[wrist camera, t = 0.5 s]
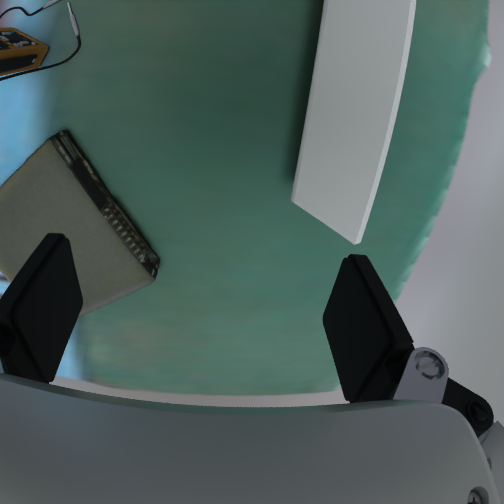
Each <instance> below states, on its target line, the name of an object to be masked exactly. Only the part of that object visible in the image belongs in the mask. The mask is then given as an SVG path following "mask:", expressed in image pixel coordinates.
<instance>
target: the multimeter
mask: <svg viewBox="0 0 504 504" xmlns="http://www.w3.org/2000/svg"><path fill="white" fill-rule="evenodd" d="M57 1H59V0H52V1H50V2H49V3H47V4H45V5H44V6H43V7H42V8H40V9H39V10H37V11H35V12H34V13H32V14H28V13H27V12H26V11H25V10H24V9H23V8H22V7H13V8H10V9H8V10H6V11H5V12H4V13H2V15H1V16H0V18H1V17H2V16H3V15H4V14H5V13H6V12H7V11H9V10H12V9H21V10H22V11H23V12H24V13H25V14H26V15H27V16H31V15H34V14H35V13H37V12H39V11H40V10H42V9H43V8H46V7H48V6H50V5H52V4H54V3H56V2H57ZM68 8H69V11H70V15H71V16H69V18H70V20H71V23H72V26H73V30H74V33H75V35H76V36H77V39H78V48H77V50H76V51H75V52H74V53H73V54H72V55H71V56H70V57H69V58H67V59H66V60H64V61H62V62H60V63H57V64H53V65H50V66H45V67H41V68H38V67H39V66H40V64H41V62H42V60H43V58H44V56H45V54H46V52H47V50H48V46H47V45H46V44H43V43H41V42H39V41H38V40H36V39H34V38H32V37H30V36H28V35H26V34H24V33H22V32H20V31H19V30H17V29H15V28H0V76H3V75H7V74H11V73H15V72H20V71H24V72H20V73H16V74H12V75H9V76H5V77H2V78H0V81H2V80H5V79H8V78H12V77H15V76H19V75H23V74H27V73H31V72H35V71H39V70H43V69H47V68H51V67H54V66H58V65H60V64H63V63H65V62H67V61H68V60H69V59H71V58H72V57H73V56H74V55H75V54H76V53H77V52H78V50H79V48H80V44H81V43H80V38H79V31H78V27H77V24H76V21H75V17H74V14H73V15H72V12H71V8H70V5H69V3H68ZM34 68H37V69H34ZM29 69H32V70H29ZM25 70H28V71H25Z"/></svg>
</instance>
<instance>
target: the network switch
mask: <svg viewBox="0 0 504 504" xmlns="http://www.w3.org/2000/svg"><path fill="white" fill-rule="evenodd" d="M48 233H63V234H64V235H65V237H66V238H68V239H69V240H70V244H71V249H72V254H73V259H74V263H75V268H76V272H77V276H78V280H79V284H80V288H81V292H82V296H83V306H82V309H81V311H80V314H79V316H78V318H79V317H81V316H83V315H85V314H87V313H90V312H92V311H94V310H96V309H99V308H101V307H102V306H105V305H107V304H110V303H112V302H114V301H116V300H118V299H120V298H122V297H124V296H127V295H129V294H131V293H133V292H135V291H137V290H139V289H141V288H143V287H146V286H148V285H150V284H152V283H153V282H154V281H155V279H156V276H157V272H158V268H159V263H160V260H159V259H158V258H157V257H156V256H155V254H154V253H153V252H152V250H151V249H150V248H149V246H148V245H147V243H146V242H145V241H144V239H142V238H141V236H140V235H139V234H138V233H137V231H136V230H135V228H134V227H133V225H132V224H131V222H130V221H129V220H128V218H127V217H126V216H125V215H124V213H123V211H122V210H121V209H120V208H119V207H118V206H117V204H116V203H115V202H114V201H113V200H112V198H111V197H110V196H109V194H108V191H107V190H106V189H105V188H104V186H103V185H102V184H101V182H100V180H99V178H98V177H97V175H96V174H95V173H94V171H93V170H92V169H91V167H90V166H89V164H88V162H87V161H86V160H85V159H84V157H82V155H81V153H80V152H79V151H78V149H77V148H76V147H75V145H74V143H73V142H72V141H71V139H70V138H69V137H68V131H66V130H63V131H60V132H58V133H57V134H55V135H53V136H52V137H50V138H48V139H47V140H46V141H45V143H44V144H43V145H41V146H40V147H39V148H38V149H37V150H36V151H35V152H34V153H33V154H31V155H30V156H29V157H28V158H27V159H26V161H25V162H24V164H23V165H22V166H21V167H19V168H18V169H17V170H16V171H15V172H14V173H13V174H12V175H11V176H10V177H9V178H8V179H7V180H6V181H5V182H4V183H3V185H2V186H1V187H0V271H1V272H2V273H3V275H4V276H5V277H6V278H7V279H8V280H9V282H10V283H11V282H12V281H13V279H14V278H15V276H16V275H17V273H18V272H19V271H20V269H21V268H22V266H23V265H24V264H25V262H26V261H27V259H28V258H29V257H30V255H31V254H32V253H33V251H34V250H35V249H36V247H37V246H38V245H39V244H40V242H41V241H42V240H43V238H44V237H45V236H46V235H47V234H48ZM147 249H148V250H147ZM148 259H149V260H150V261H149V260H148Z"/></svg>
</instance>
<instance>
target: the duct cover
mask: <svg viewBox="0 0 504 504" xmlns="http://www.w3.org/2000/svg"><path fill="white" fill-rule="evenodd" d="M415 8H416V0H324V4H323V11H322V18H321V25H320V31H319V38H318V44H317V51H316V57H315V63H314V70H313V76H312V82H311V88H310V94H309V100H308V106H307V111H306V117H305V123H304V129H303V134H302V140H301V145H300V151H299V156H298V162H297V167H296V173H295V178H294V183H293V189H292V194H291V199H290V200H291V201H292V202H294V203H295V204H296V205H298V206H299V207H301V208H302V209H304V210H305V211H307V212H308V213H310V214H311V215H313V216H314V217H316V218H317V219H319V220H320V221H322V222H323V223H324V224H326V225H327V226H329V227H330V228H332V229H333V230H335V231H336V232H337V233H339V234H340V235H342V236H343V237H345V238H346V239H347V240H349V241H350V242H352V243H353V244H354V245H355V244H358V243H360V242H361V239H362V236H363V233H364V230H365V227H366V224H367V221H368V218H369V215H370V211H371V208H372V205H373V202H374V198H375V195H376V192H377V188H378V185H379V181H380V178H381V174H382V171H383V167H384V163H385V160H386V156H387V152H388V148H389V144H390V140H391V136H392V132H393V128H394V124H395V120H396V115H397V111H398V106H399V102H400V97H401V92H402V87H403V82H404V77H405V72H406V67H407V61H408V55H409V49H410V43H411V37H412V30H413V23H414V16H415Z"/></svg>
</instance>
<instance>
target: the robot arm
mask: <svg viewBox="0 0 504 504" xmlns="http://www.w3.org/2000/svg"><path fill="white" fill-rule="evenodd" d="M82 306H83V296H82V292H81V288H80V284H79V280H78V276H77V272H76V268H75V263H74V259H73V254H72V249H71V244H70V240H69V239H68V238H66V237H65V235H64V234H63V233H48V234H47V235H46V236H45V237H44V238H43V240H42V241H41V242H40V244H39V245H38V246H37V247H36V249H35V250H34V251H33V253H32V254H31V255H30V257H29V258H28V259H27V261H26V262H25V264H24V265H23V266H22V268H21V269H20V271H19V272H18V273H17V275H16V276H15V278H14V279H13V281H12V282H11V284H10V285H9V287H8V288H7V290H6V291H5V293H4V294H3V296H2V297H1V299H0V504H504V427H503V426H502V425H501V424H500V423H499V422H498V421H496V422H495V423H494V422H493V419H494V415H493V411H492V409H491V406H490V405H489V403H487V401H486V400H485V399H483V398H482V397H480V396H479V395H477V394H475V393H474V392H472V391H470V390H469V389H467V388H465V387H463V386H462V385H460V384H458V383H457V382H455V381H454V380H452V379H450V378H448V375H449V368H448V365H447V363H446V361H445V359H444V358H443V357H442V356H441V355H440V354H439V353H438V352H436V351H435V350H432V349H430V348H426V347H420V348H417V349H415V348H414V346H413V344H412V343H413V340H412V338H411V336H410V334H409V332H408V330H407V328H406V326H405V324H404V322H403V320H402V318H401V316H400V314H399V313H398V310H397V309H396V307H395V305H394V303H393V301H392V299H391V297H390V296H389V294H388V292H387V290H386V288H385V287H384V285H383V283H382V281H381V279H380V278H379V276H378V274H377V272H376V271H375V269H374V267H373V265H372V264H371V262H370V260H369V259H368V257H367V256H366V255H358V254H350V255H349V256H348V258H344V259H343V261H342V264H341V267H340V270H339V273H338V275H337V278H336V281H335V284H334V287H333V289H332V292H331V295H330V298H329V300H328V303H327V306H326V308H325V311H324V314H323V325H324V328H325V332H326V335H327V338H328V342H329V345H330V349H331V352H332V355H333V359H334V362H335V366H336V369H337V373H338V376H339V380H340V384H341V387H342V391H343V394H344V397H345V400H346V401H349V402H350V403H348V404H334V405H319V406H301V407H260V408H259V407H255V408H254V407H216V406H197V405H183V404H171V403H161V402H152V401H142V400H135V399H128V398H121V397H114V396H108V395H101V394H96V393H90V392H85V391H80V390H74V389H70V388H65V387H60V386H56V385H51V384H49V382H52V381H53V380H54V378H55V375H56V372H57V370H58V367H59V364H60V361H61V359H62V356H63V353H64V351H65V348H66V345H67V343H68V340H69V338H70V335H71V333H72V330H73V328H74V326H75V323H76V321H77V318H78V316H79V314H80V311H81V309H82Z"/></svg>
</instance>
